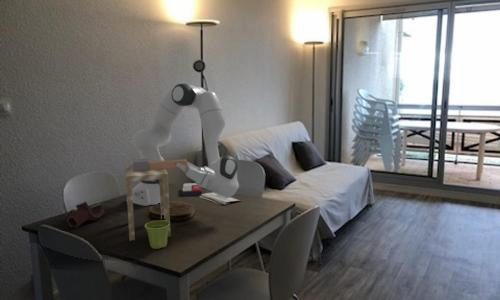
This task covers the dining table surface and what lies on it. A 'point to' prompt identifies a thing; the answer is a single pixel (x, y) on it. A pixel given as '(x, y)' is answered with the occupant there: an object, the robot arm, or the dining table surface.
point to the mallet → (155, 164)
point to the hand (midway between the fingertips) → (175, 162)
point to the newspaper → (218, 198)
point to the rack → (164, 193)
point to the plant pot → (157, 233)
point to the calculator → (191, 189)
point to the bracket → (84, 214)
